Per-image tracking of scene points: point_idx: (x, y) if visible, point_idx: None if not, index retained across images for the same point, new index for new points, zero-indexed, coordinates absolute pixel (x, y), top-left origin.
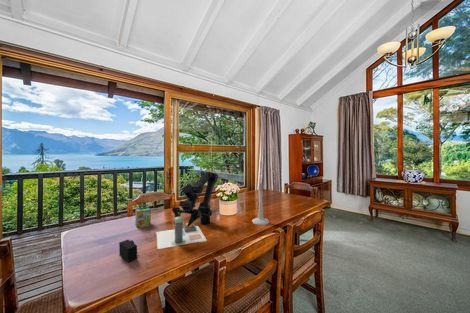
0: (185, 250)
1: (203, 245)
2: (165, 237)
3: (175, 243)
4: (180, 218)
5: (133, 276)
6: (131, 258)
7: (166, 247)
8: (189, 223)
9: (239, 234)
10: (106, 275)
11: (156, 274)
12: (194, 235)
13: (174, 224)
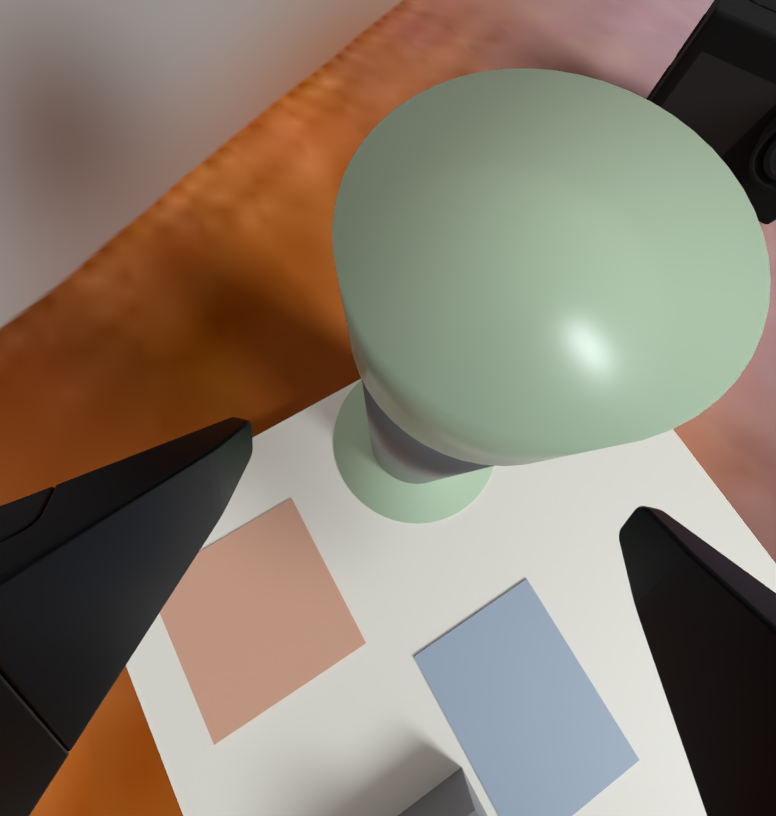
0: (285, 305)
1: (116, 423)
2: None
3: None
4: (422, 176)
5: (499, 7)
6: (649, 96)
7: None
8: (171, 455)
9: None
10: (658, 5)
11: (374, 28)
12: (275, 660)
13: (634, 528)
